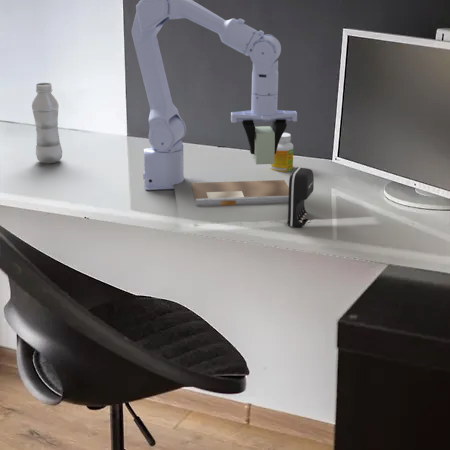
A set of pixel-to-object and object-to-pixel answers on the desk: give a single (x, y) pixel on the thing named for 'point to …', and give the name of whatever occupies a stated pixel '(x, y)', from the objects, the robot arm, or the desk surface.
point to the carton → (264, 145)
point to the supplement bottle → (283, 154)
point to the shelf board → (240, 192)
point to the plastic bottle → (46, 124)
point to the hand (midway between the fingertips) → (263, 152)
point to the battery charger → (299, 195)
